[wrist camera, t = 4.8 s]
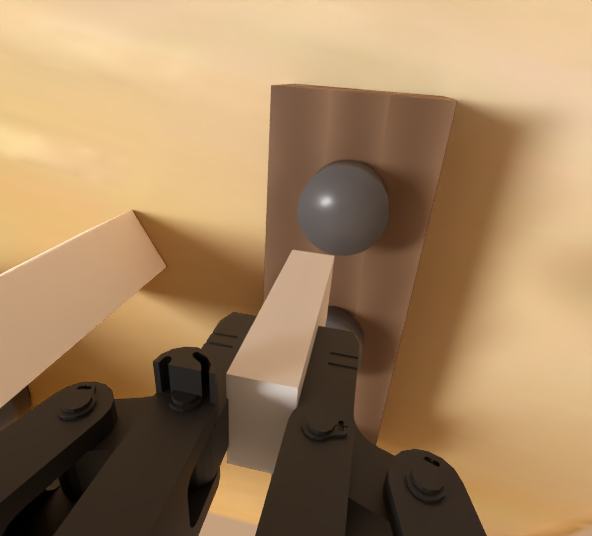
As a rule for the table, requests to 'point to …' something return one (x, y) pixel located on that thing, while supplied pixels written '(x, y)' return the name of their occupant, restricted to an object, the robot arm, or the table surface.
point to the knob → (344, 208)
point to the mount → (402, 207)
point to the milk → (68, 295)
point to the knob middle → (345, 326)
